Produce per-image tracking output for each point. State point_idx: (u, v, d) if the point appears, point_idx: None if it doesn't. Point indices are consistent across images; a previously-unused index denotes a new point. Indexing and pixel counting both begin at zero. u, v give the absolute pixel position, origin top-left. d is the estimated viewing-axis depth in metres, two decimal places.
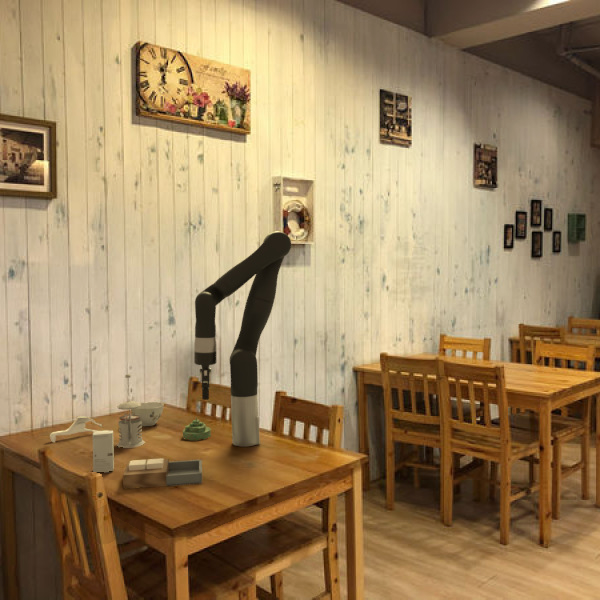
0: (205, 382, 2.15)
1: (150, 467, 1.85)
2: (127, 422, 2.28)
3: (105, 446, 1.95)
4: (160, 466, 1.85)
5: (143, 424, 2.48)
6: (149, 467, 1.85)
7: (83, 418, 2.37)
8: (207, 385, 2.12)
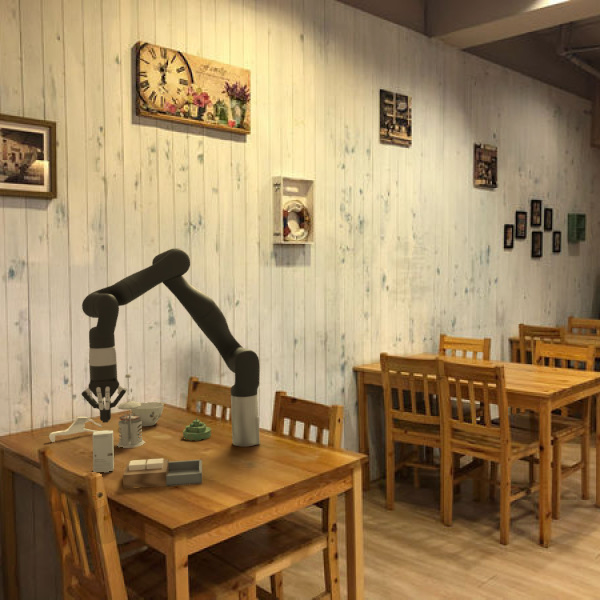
0: None
1: (150, 467, 1.85)
2: (127, 422, 2.28)
3: (105, 446, 1.95)
4: (160, 466, 1.85)
5: (143, 424, 2.48)
6: (149, 467, 1.85)
7: (83, 418, 2.37)
8: None
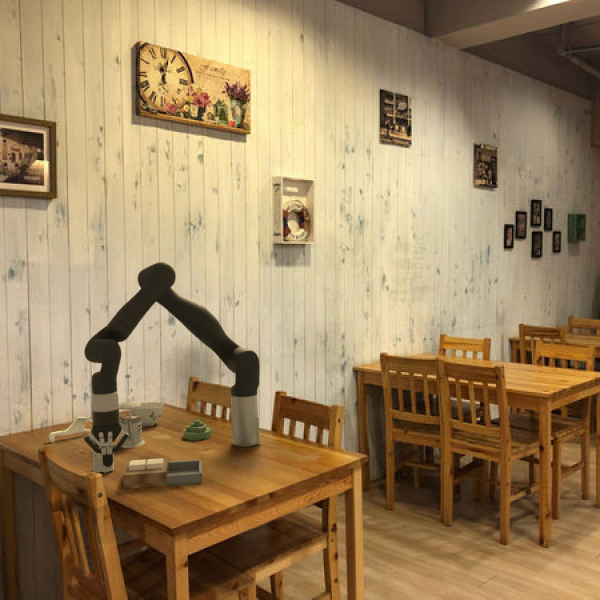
0: None
1: (150, 467, 1.85)
2: (127, 422, 2.28)
3: None
4: (160, 466, 1.85)
5: (143, 424, 2.48)
6: (149, 467, 1.85)
7: (82, 418, 2.37)
8: None
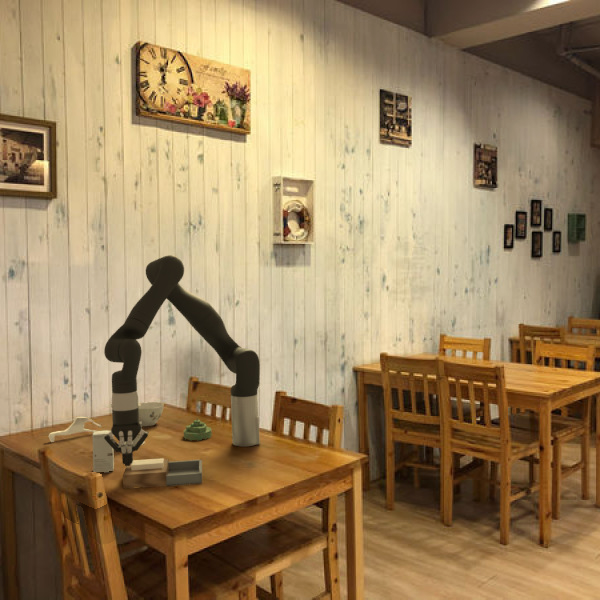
0: None
1: (151, 467, 1.85)
2: None
3: (105, 446, 1.95)
4: (161, 466, 1.85)
5: (143, 424, 2.48)
6: (150, 467, 1.85)
7: (82, 418, 2.37)
8: None
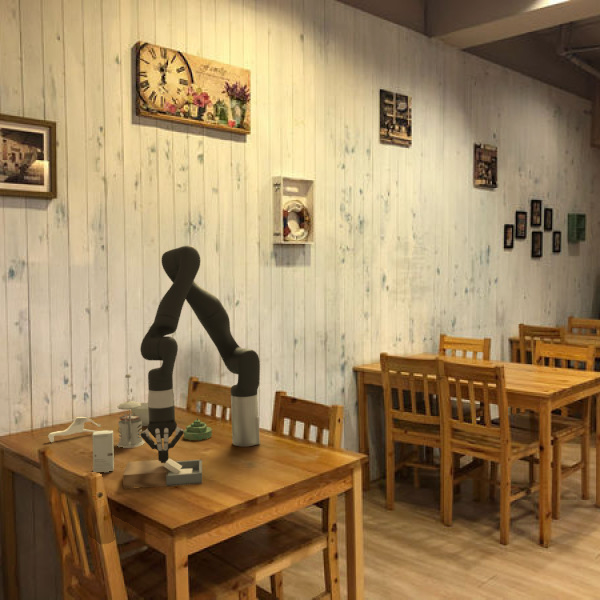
0: None
1: None
2: (127, 422, 2.28)
3: (105, 446, 1.95)
4: None
5: (143, 424, 2.48)
6: None
7: (82, 418, 2.36)
8: None
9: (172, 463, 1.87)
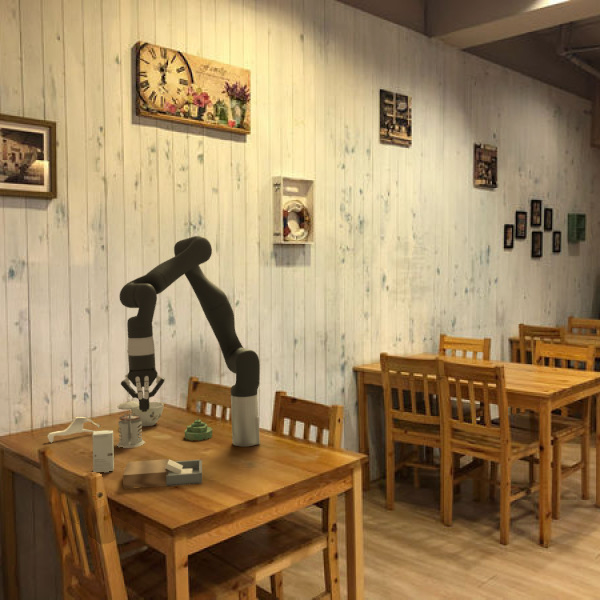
0: None
1: None
2: (127, 422, 2.28)
3: (105, 446, 1.95)
4: None
5: (143, 424, 2.48)
6: None
7: (81, 418, 2.36)
8: None
9: (173, 464, 1.86)
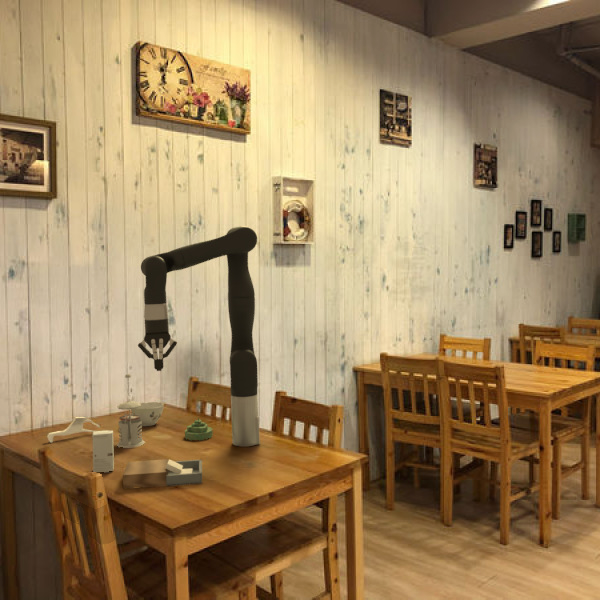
0: None
1: None
2: (127, 422, 2.28)
3: (105, 446, 1.95)
4: None
5: (143, 424, 2.48)
6: None
7: (81, 418, 2.36)
8: None
9: (173, 464, 1.86)
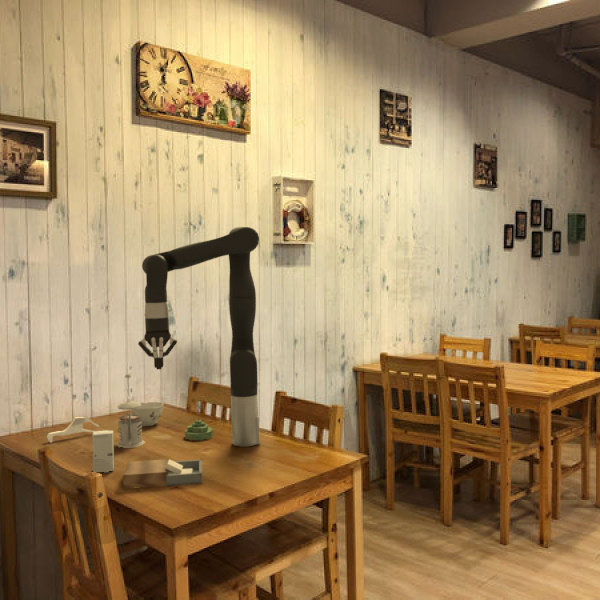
0: None
1: None
2: (127, 422, 2.28)
3: (105, 446, 1.95)
4: None
5: (143, 424, 2.48)
6: None
7: (81, 418, 2.36)
8: None
9: (173, 464, 1.86)
